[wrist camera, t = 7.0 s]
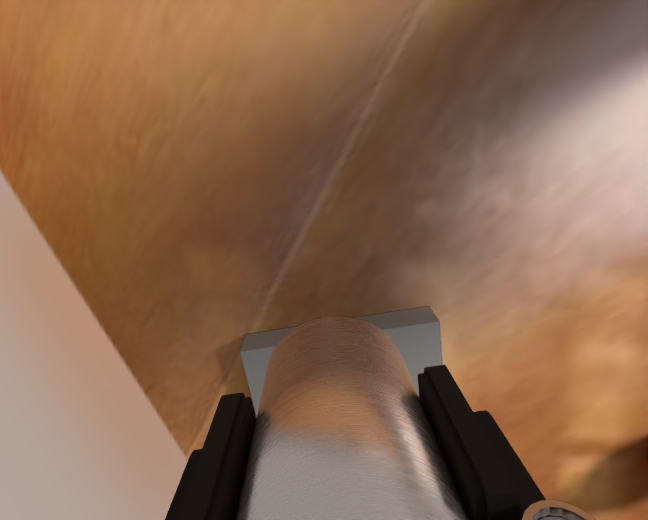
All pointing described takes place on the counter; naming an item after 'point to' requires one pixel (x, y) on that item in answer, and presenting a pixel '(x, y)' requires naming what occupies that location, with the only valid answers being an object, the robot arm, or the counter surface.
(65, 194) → the counter surface
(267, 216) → the counter surface
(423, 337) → the block
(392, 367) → the bushing
